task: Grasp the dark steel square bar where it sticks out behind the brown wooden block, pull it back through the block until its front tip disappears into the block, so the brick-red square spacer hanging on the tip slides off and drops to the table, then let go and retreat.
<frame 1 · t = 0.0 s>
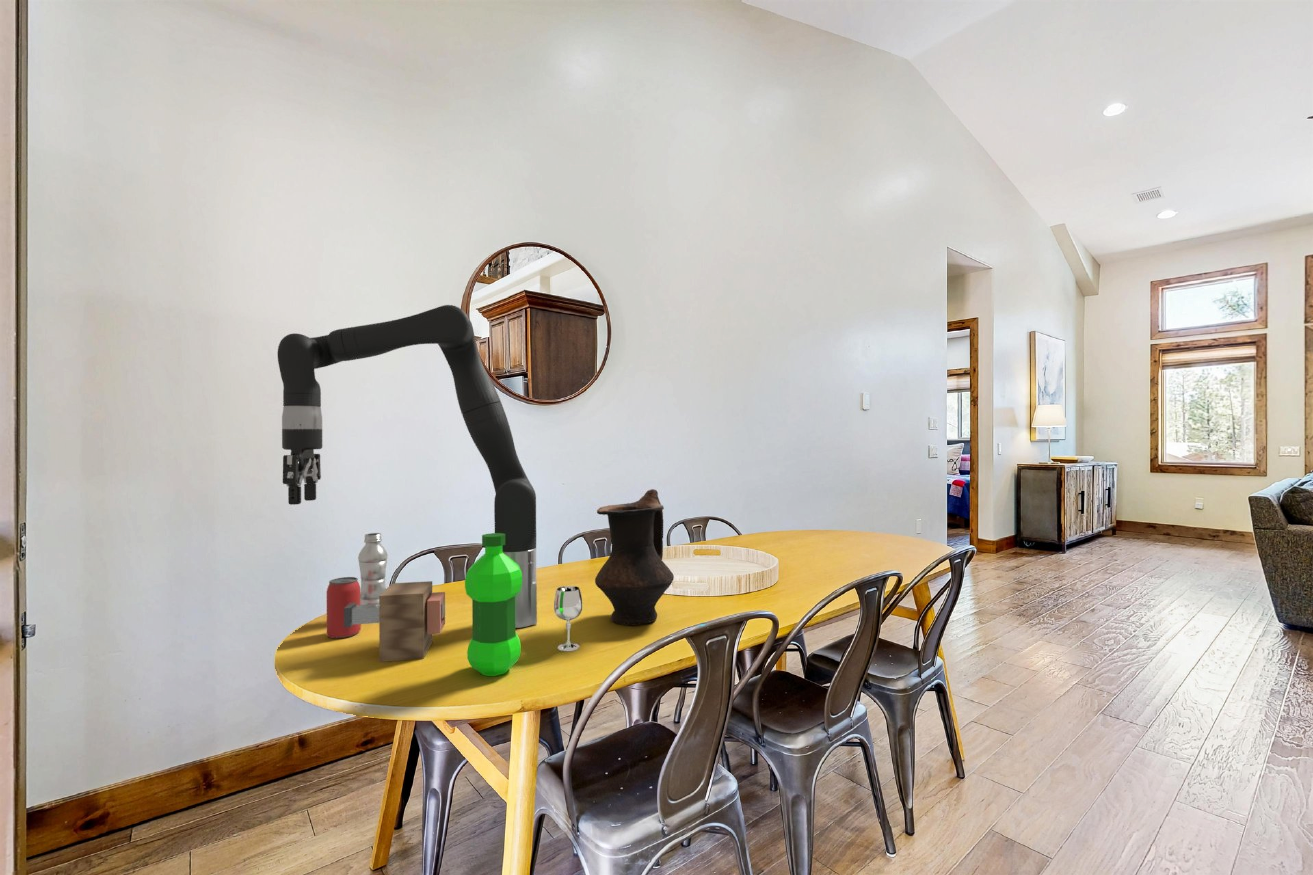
hand: (302, 502, 127), 29 cm above the table, tool pointing down, fingers open, 8 cm apart
jug: (637, 619, 139), on the table
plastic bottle: (373, 617, 141), on the table
beer can: (343, 635, 129), on the table
wineglass: (568, 648, 120), on the table
brown wooden block: (407, 650, 118), on the table
shaft: (396, 612, 118), point 8 cm above the table, slide at 0.0 cm, touching spacer
plastic bottle 2: (494, 671, 108), on the table
spacer: (436, 628, 119), point 4 cm above the table, touching shaft
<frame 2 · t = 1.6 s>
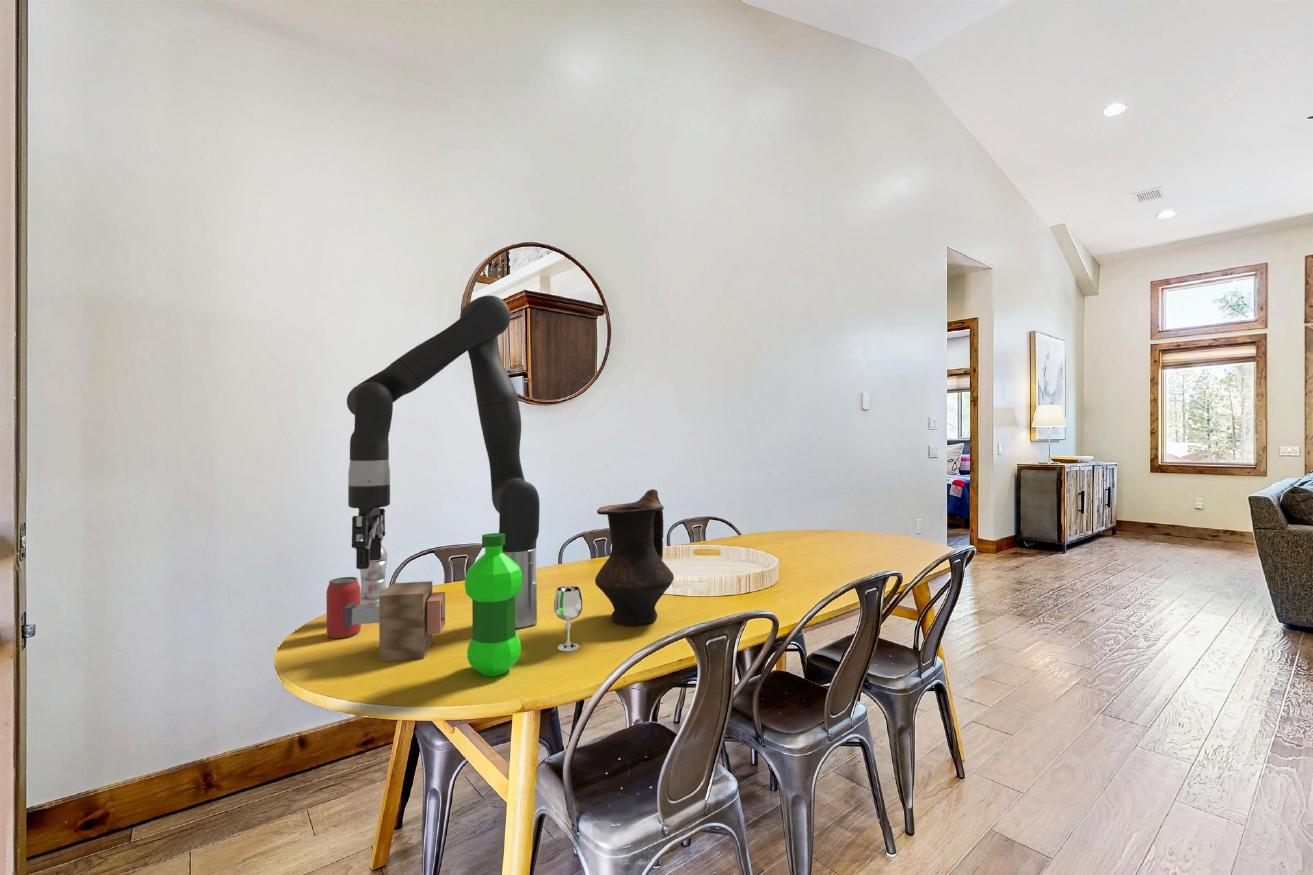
hand: (369, 564, 117), 18 cm above the table, tool pointing down, fingers open, 8 cm apart
nothing on the table moved.
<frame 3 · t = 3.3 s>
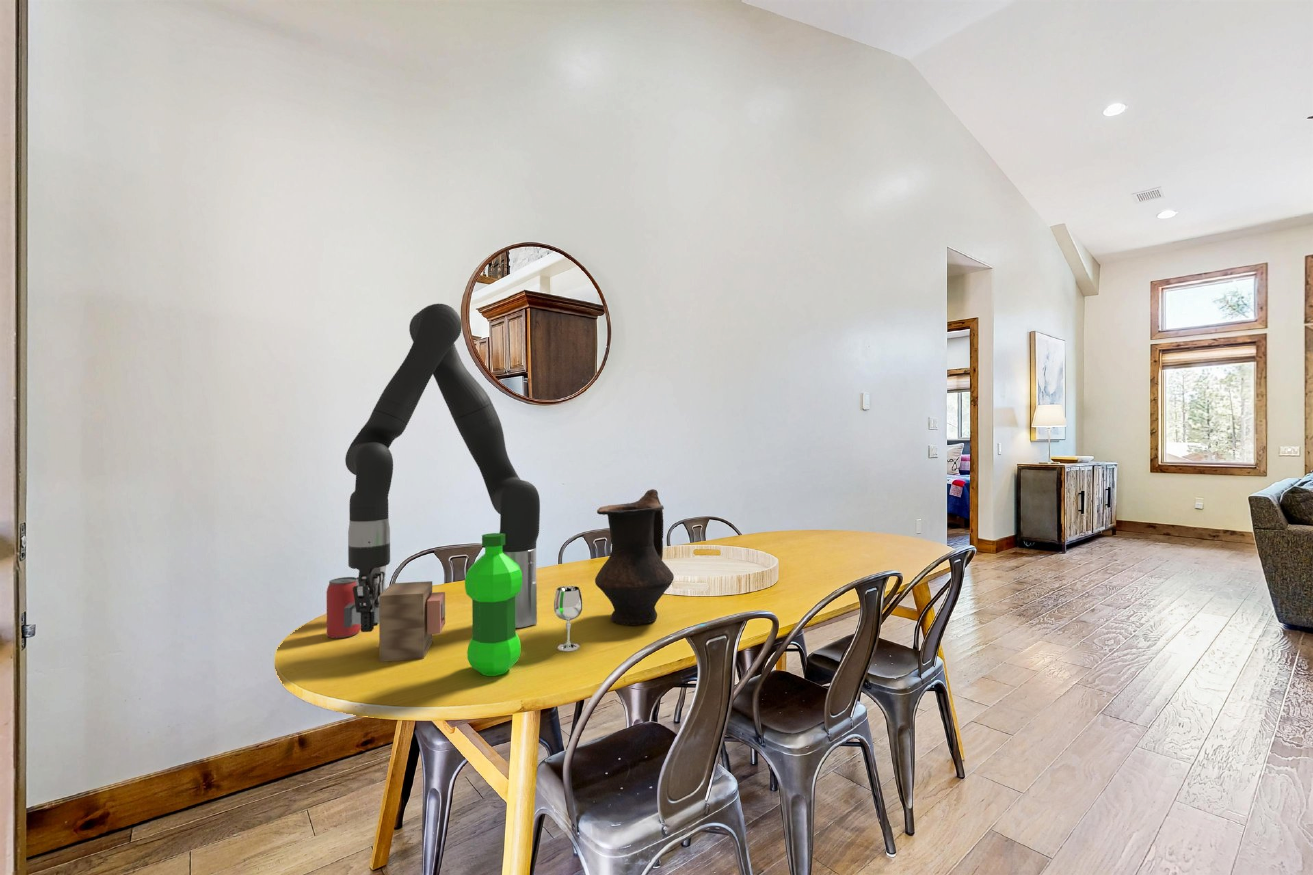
hand: (369, 627, 117), 5 cm above the table, tool pointing down, fingers closed on shaft, 3 cm apart
shaft: (396, 612, 118), point 8 cm above the table, slide at 0.0 cm, touching gripper, spacer
everything else where it was.
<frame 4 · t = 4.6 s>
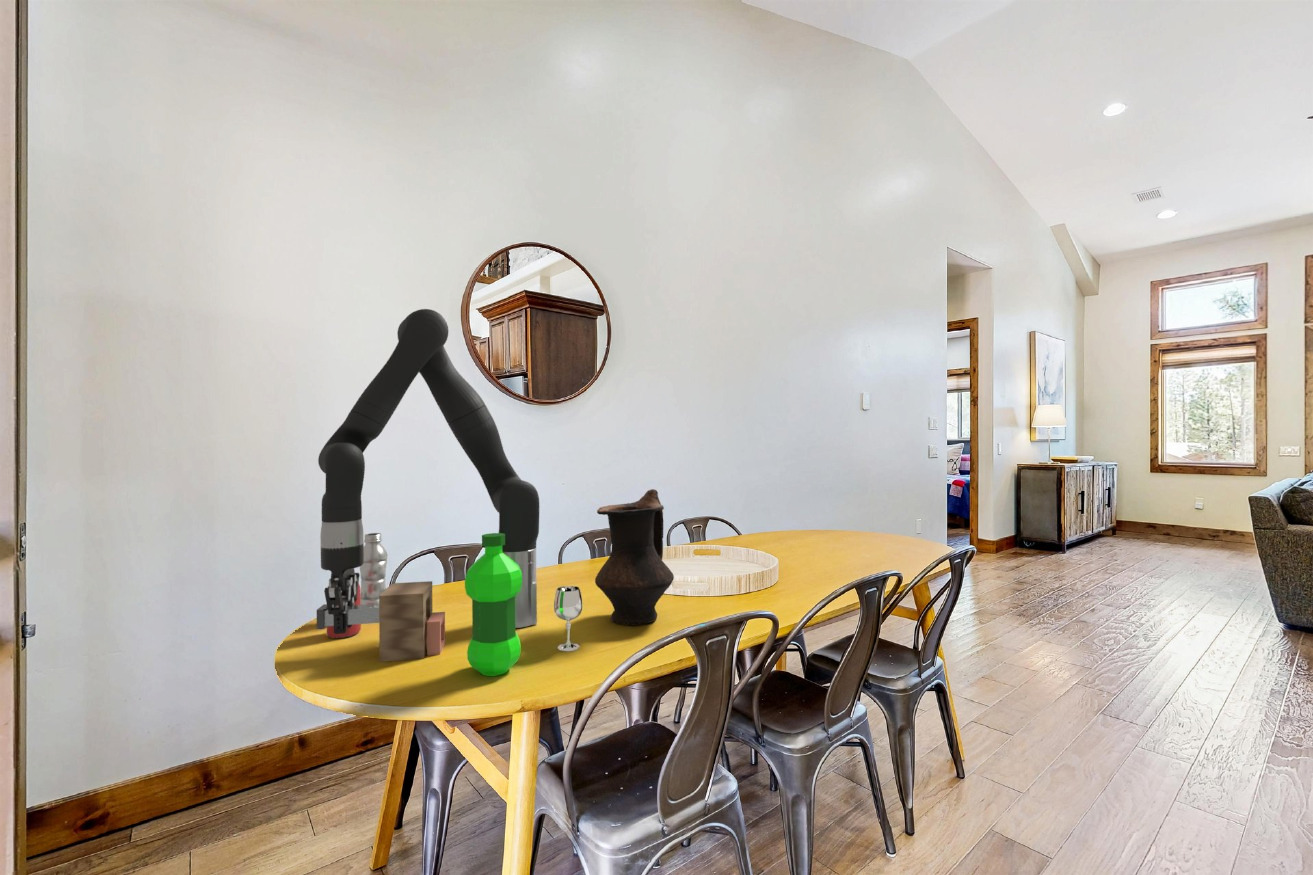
hand: (343, 629, 116), 5 cm above the table, tool pointing down, fingers closed on shaft, 3 cm apart
shaft: (370, 613, 117), point 8 cm above the table, slide at 4.9 cm, touching gripper
spacer: (436, 649, 119), on the table
everything else where it was.
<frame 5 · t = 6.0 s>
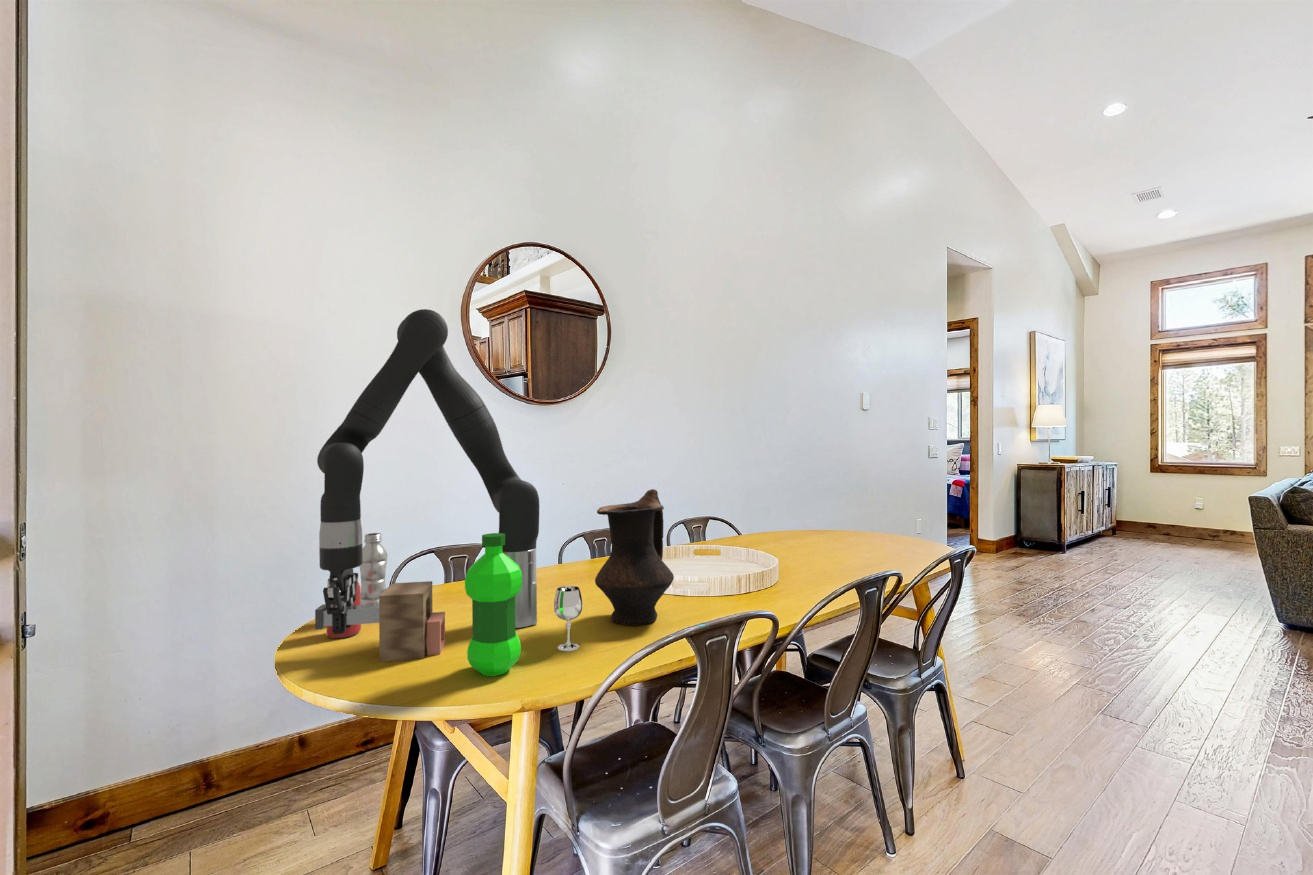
hand: (342, 629, 116), 5 cm above the table, tool pointing down, fingers closed on shaft, 3 cm apart
shaft: (368, 613, 117), point 8 cm above the table, slide at 5.1 cm, touching gripper
everything else where it was.
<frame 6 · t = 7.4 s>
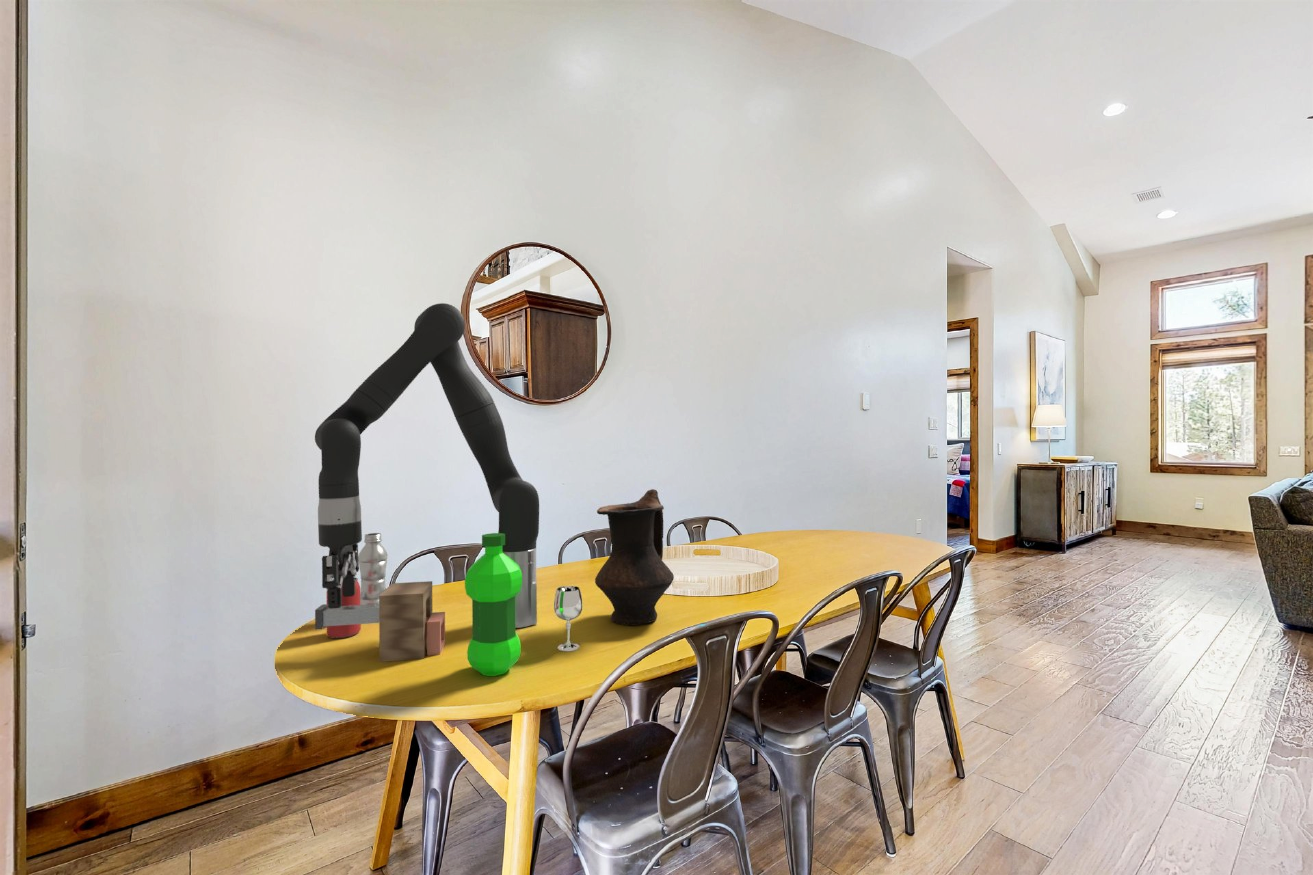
hand: (342, 601, 116), 11 cm above the table, tool pointing down, fingers open, 8 cm apart
shaft: (368, 613, 117), point 8 cm above the table, slide at 5.1 cm
everything else where it was.
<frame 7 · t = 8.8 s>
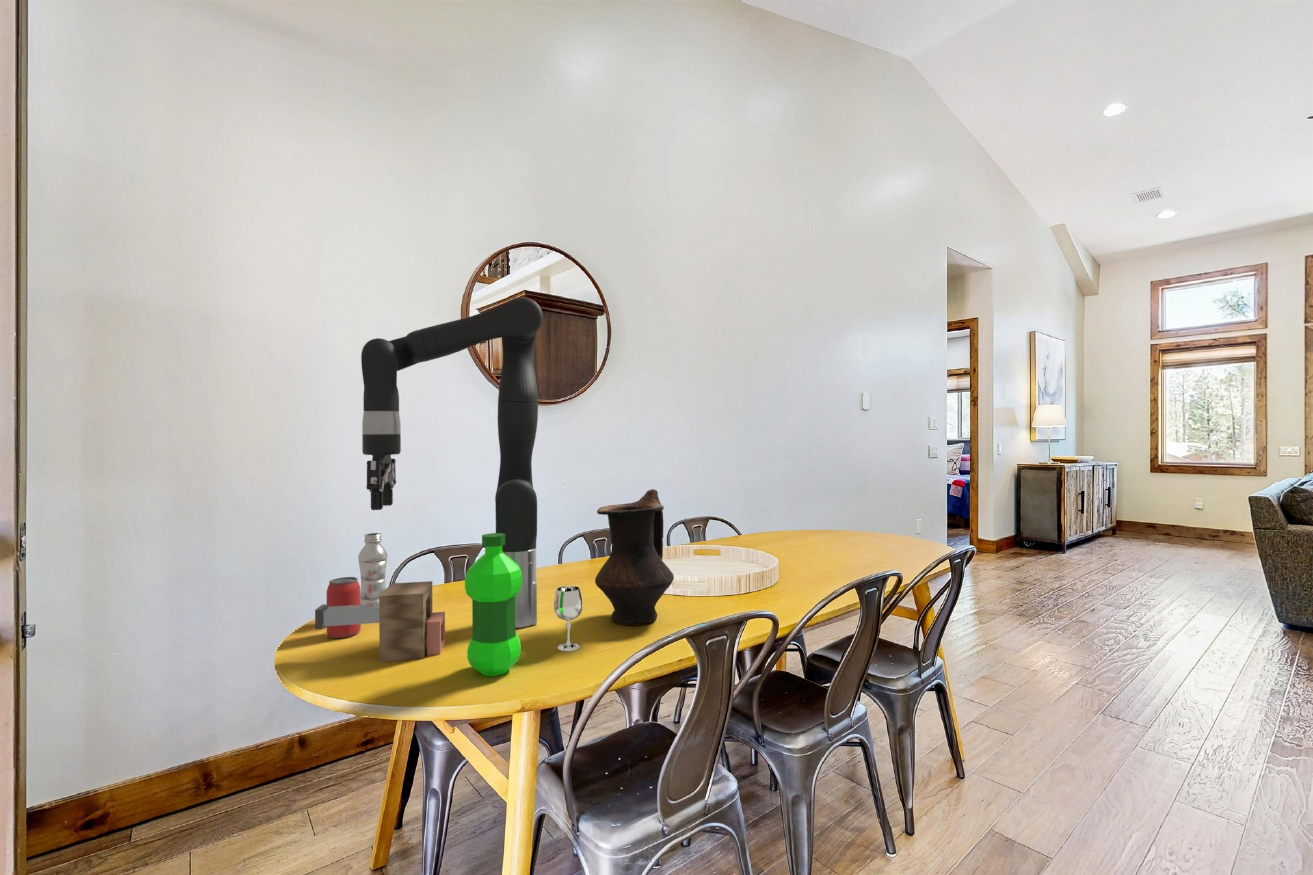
hand: (382, 507, 127), 28 cm above the table, tool pointing down, fingers open, 8 cm apart
nothing on the table moved.
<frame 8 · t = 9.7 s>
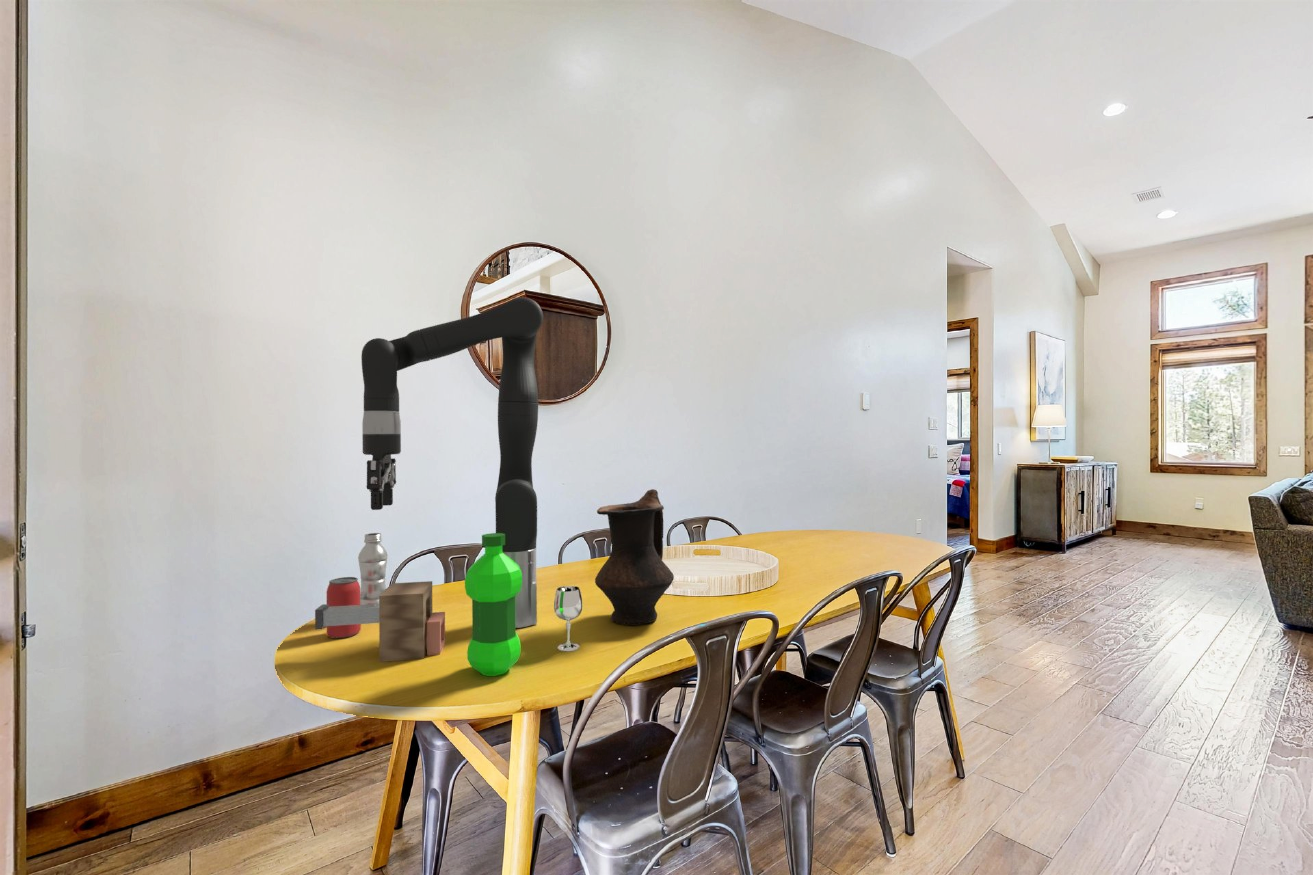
hand: (382, 507, 127), 28 cm above the table, tool pointing down, fingers open, 8 cm apart
nothing on the table moved.
at the end: spacer on the table; spacer touching table; shaft slide at 5.1 cm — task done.
